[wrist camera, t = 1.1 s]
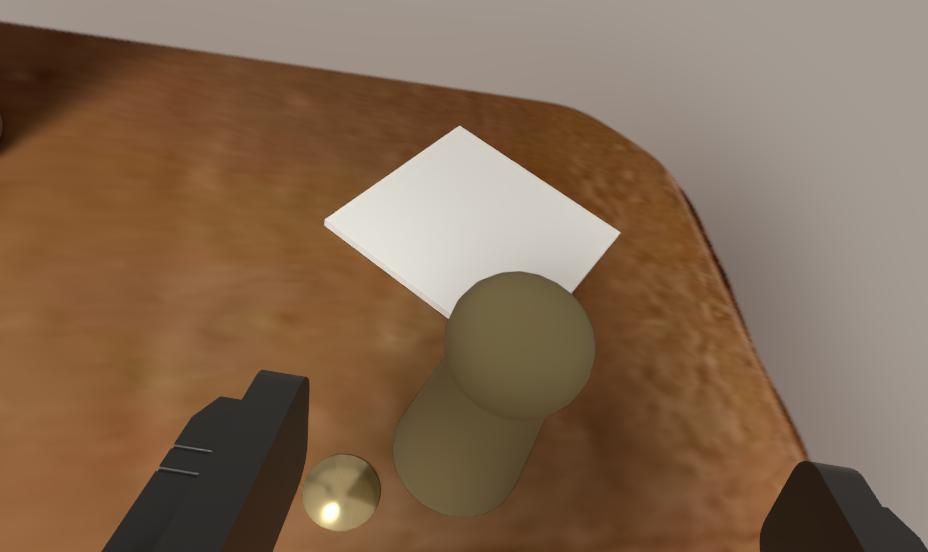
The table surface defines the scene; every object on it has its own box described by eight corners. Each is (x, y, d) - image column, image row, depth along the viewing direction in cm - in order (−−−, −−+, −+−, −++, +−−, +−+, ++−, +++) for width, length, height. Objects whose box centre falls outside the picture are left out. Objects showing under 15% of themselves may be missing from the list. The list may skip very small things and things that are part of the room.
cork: (484, 546, 26) (584, 438, 18) (365, 466, 27) (408, 327, 19) (541, 435, 30) (646, 304, 22) (435, 368, 31) (497, 218, 23)
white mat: (324, 225, 35) (324, 219, 34) (457, 131, 43) (459, 125, 43) (511, 366, 32) (514, 361, 32) (617, 237, 40) (620, 232, 40)
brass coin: (285, 500, 26) (285, 497, 26) (337, 443, 28) (337, 440, 28) (345, 550, 25) (346, 547, 25) (393, 488, 27) (395, 484, 27)
